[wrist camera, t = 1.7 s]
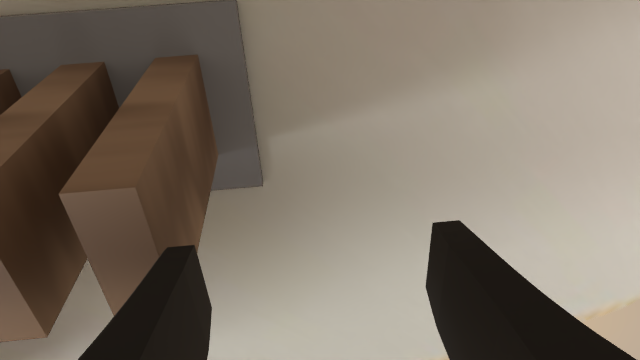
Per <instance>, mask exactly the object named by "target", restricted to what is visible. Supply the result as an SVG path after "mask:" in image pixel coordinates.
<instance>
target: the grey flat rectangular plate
mask: <svg viewBox="0 0 640 360" xmlns="http://www.w3.org/2000/svg"><path fill="white" fill-rule="evenodd" d="M185 55H198V57H199V62H200V67H201V72H202V77H203V82H204V87H205V92H206V97H207V102H208V106H209V111H210V116H211V121H212V126H213V131H214V136H215V141H216V146H217V151H218V159H217V164H216V168H215V173H214V177H213V182H212V187H211V190H222V189H233V188H245V187H256V186H263V179H262V172H261V165H260V159H259V152H258V145H257V138H256V131H255V125H254V118H253V111H252V104H251V97H250V90H249V84H248V77H247V70H246V63H245V56H244V49H243V43H242V36H241V29H240V22H239V15H238V9H237V2H236V0H223V1H209V2H195V3H181V4H167V5H153V6H139V7H125V8H111V9H97V10H83V11H69V12H56V13H42V14H28V15H14V16H0V70H2V69H9V70H10V72H11V74H12V77H13V79H14V81H15V83H16V86H17V88H18V90H19V92H20V95H21V97H23V96H24V95H25V94H26V93H28V92H29V91H30V90H31V89H32V88H34V87H35V86H36V85H37V84H38V83H40V82H41V81H42V80H43V79H45V78H46V77H47V76H48V75H49V74H51V73H52V72H53V71H54V70H55V69H57V68H58V67H59V66H60V65H67V64H80V63H94V62H105V66H106V69H107V72H108V75H109V78H110V81H111V84H112V87H113V90H114V93H115V97H116V100H117V103H118V106H119V108H120V107H121V105H122V104H123V102H124V101H125V100H126V98H127V97H128V95H129V94H130V93H131V91H132V90H133V88H134V87H135V86H136V84H137V83H138V81H139V80H140V79H141V77H142V76H143V74H144V73H145V72H146V70H147V69H148V67H149V66H150V65H151V63H152V62H153V60H154V59H155V58H159V57H172V56H185Z"/></svg>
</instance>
